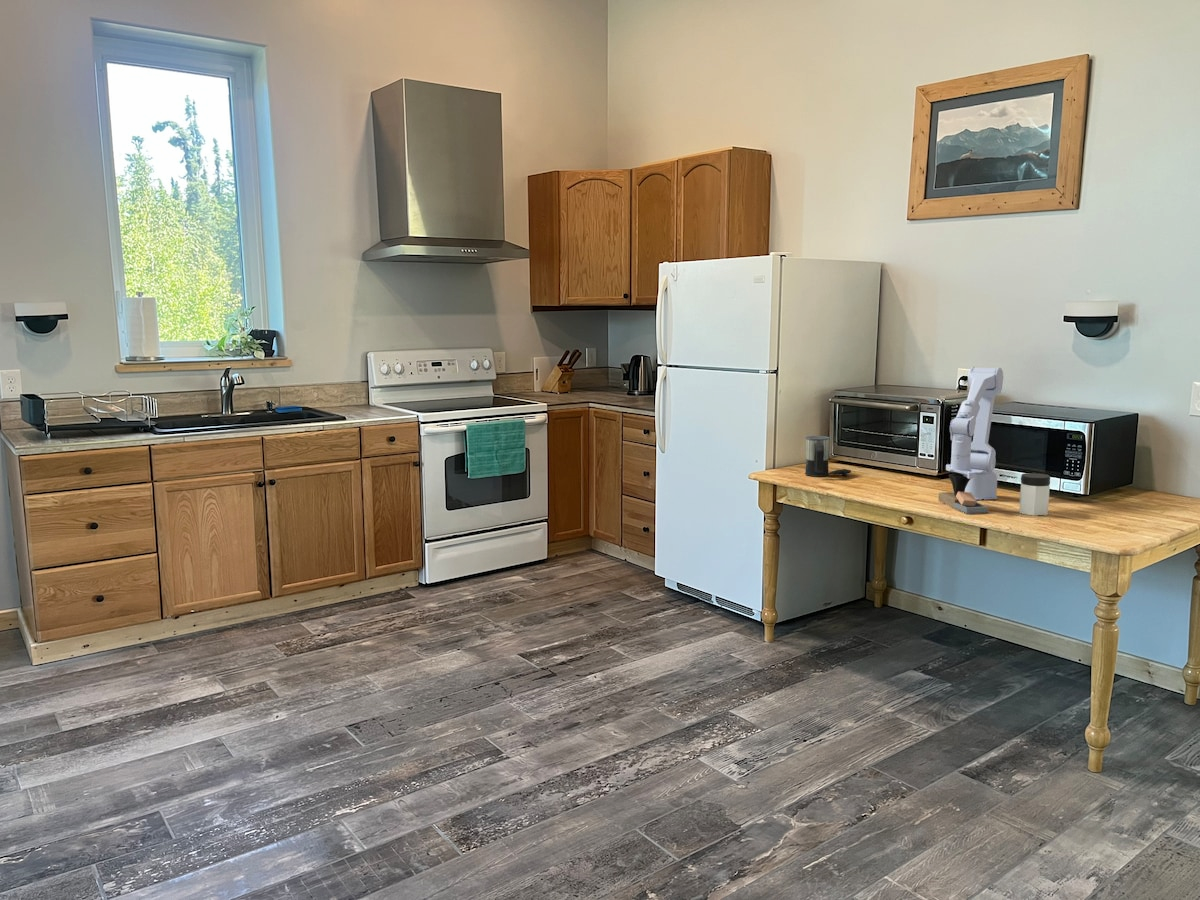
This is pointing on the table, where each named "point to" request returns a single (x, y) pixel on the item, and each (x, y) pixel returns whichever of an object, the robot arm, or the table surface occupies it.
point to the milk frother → (819, 457)
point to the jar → (1034, 494)
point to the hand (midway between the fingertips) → (958, 496)
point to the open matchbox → (948, 498)
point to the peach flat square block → (966, 498)
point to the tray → (971, 508)
